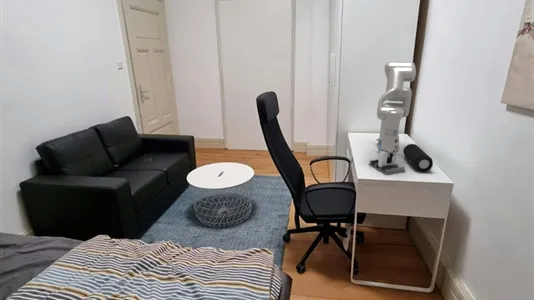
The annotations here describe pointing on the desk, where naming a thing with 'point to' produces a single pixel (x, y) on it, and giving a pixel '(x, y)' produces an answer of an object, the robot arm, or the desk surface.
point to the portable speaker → (418, 157)
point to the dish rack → (387, 168)
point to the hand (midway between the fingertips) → (387, 161)
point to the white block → (385, 159)
